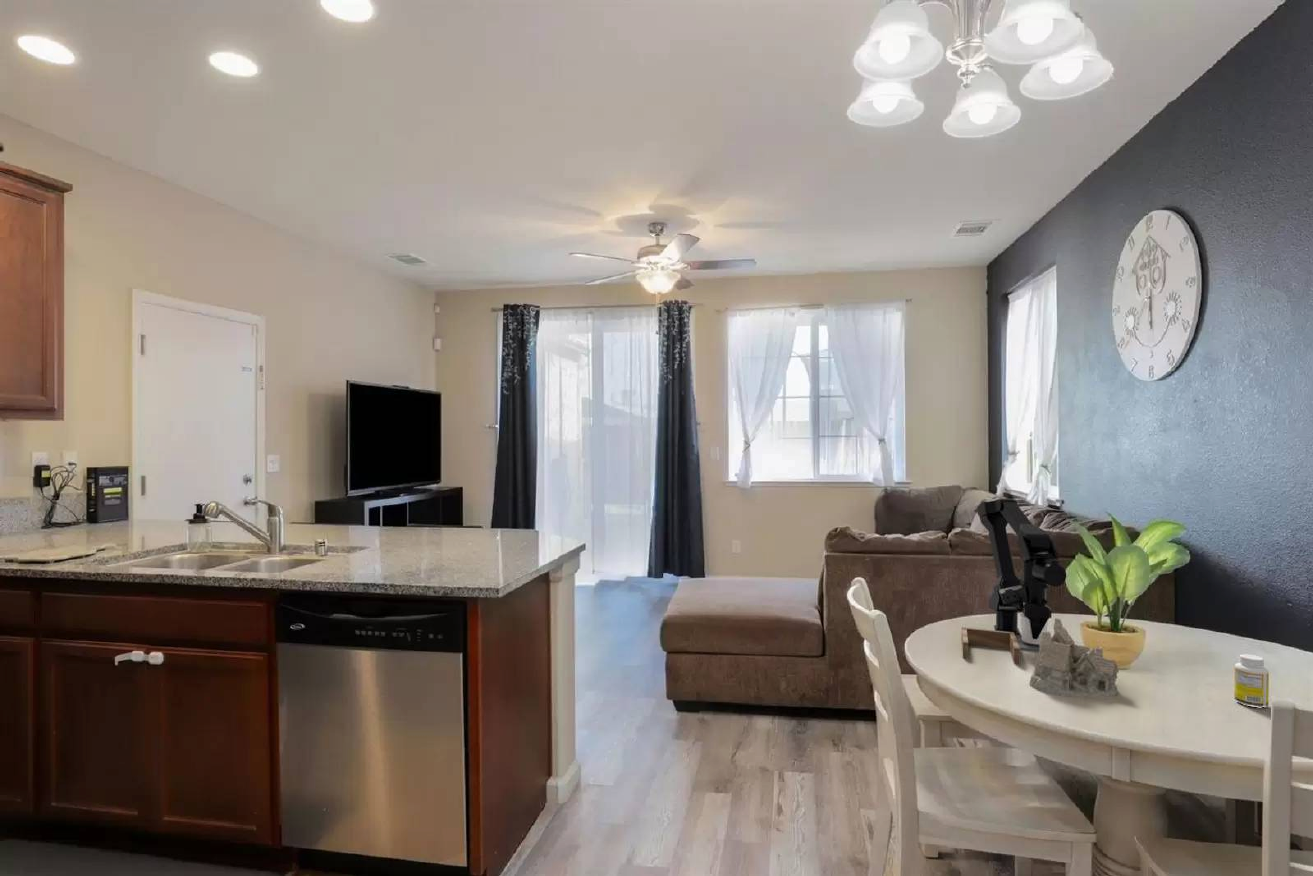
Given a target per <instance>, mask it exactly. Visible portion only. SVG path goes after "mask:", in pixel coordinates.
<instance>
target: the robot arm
mask: <svg viewBox="0 0 1313 876" xmlns="http://www.w3.org/2000/svg"><path fill="white" fill-rule="evenodd" d="M976 511H977V515H978V517H979V520H980V524H981V525H982V526H983V528H985V529H986V530H987V531H988V536H989V540H990V546H991V550H992V556H993V561H994V562H993V563H994V565H995V566H994V567H995V572H996V580H995V583H994V585H993V593H992V594H991V596H990V598H988V609H991V610H992V611H994V612H995V624H994V625H993V629H994V630H995V631H1004V632H1014V634H1015V635H1021V632H1020V631H1021V630H1020V629H1019V626H1018V625H1019V612H1021V613H1023V614H1024V616H1025V617H1027V618H1028V619H1029V622H1030V627H1031V633H1032V638H1033V639H1038V637H1039V635H1040V633H1041V631H1042V629H1043V628H1044V626H1045V624H1046V622H1047V621H1048V622H1049V619H1052V609H1051V608H1050V607H1049V606H1048V605H1047V604H1048V599H1047V590H1048V586H1049V587H1060V586H1062V585H1063V584H1064V583H1065V582H1066V579H1067V573H1066V570H1065V568H1064V567H1063V566H1061V565H1059V564H1060V562H1059V556H1058V554H1059V553H1058V551H1057V549H1056V547H1055V545H1054V542H1053V540H1052V538H1051V536H1050V535H1049V533H1047V532H1046V531H1045V530H1044V529H1043V528H1040V527H1038V526H1035V525H1034V524H1033V523H1032V522H1031V520H1030V519H1029V518H1028V517H1027V515H1026V514H1025V513H1024V512H1023V510H1022V509H1021V508H1020V507H1019V506H1018V501H1017V500H1016V499H1014V498H1002V497H1001V498H998V499H995V500H990V501H989V500H988V501H987V500H986V501H982V502H980V503H979V504H978V506H977V509H976ZM1008 525H1009V526H1010V527H1011V529H1012V530H1013V532H1014V533H1015V534H1016V536H1017V538H1016V544H1017V545H1018V548H1019V550H1020V552H1021V555H1020V556H1019V558H1020V559H1021V560H1022V579H1020V578H1019V577H1018V576H1017V574H1016V572H1015V567H1014V561H1013V558H1012V552H1011V551H1012V550H1011V548H1010V547H1011V546H1010V543H1009V538H1008V533H1007V527H1008Z"/></svg>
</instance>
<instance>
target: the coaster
mask: <svg viewBox="0 0 1313 876" xmlns="http://www.w3.org/2000/svg"><path fill="white" fill-rule="evenodd" d="M1016 639H1017V642H1018V645H1019V648H1020V651H1030V652H1037V653H1038V652H1039V650H1040V646H1039V644H1031V643H1027V642H1024V641H1023V640H1022V638H1017V637H1016Z"/></svg>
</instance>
